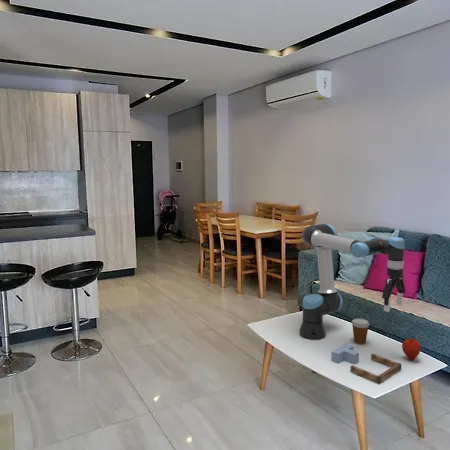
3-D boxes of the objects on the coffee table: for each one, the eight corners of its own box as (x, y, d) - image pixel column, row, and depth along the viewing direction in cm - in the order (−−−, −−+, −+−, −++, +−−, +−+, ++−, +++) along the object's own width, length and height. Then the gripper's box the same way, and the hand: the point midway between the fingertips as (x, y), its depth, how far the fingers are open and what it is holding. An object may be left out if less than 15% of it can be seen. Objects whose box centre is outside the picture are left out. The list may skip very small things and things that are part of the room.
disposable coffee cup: (347, 339, 229) (348, 319, 227) (360, 336, 232) (361, 317, 231) (359, 346, 220) (359, 325, 218) (372, 343, 224) (373, 322, 222)
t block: (331, 360, 204) (331, 351, 204) (347, 352, 213) (347, 343, 213) (348, 367, 197) (348, 357, 196) (364, 358, 206) (364, 349, 205)
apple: (397, 357, 206) (398, 337, 205) (409, 354, 210) (410, 334, 208) (411, 364, 198) (412, 344, 197) (423, 361, 202) (424, 340, 200)
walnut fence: (350, 371, 193) (350, 366, 192) (372, 359, 205) (372, 353, 205) (379, 384, 181) (379, 378, 181) (401, 369, 194) (401, 363, 193)
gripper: (390, 273, 192) (388, 316, 195) (413, 265, 208) (411, 304, 211) (375, 270, 197) (373, 311, 200) (399, 262, 214) (397, 300, 217)
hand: (393, 308), depth 206 cm, fingers open, 13 cm apart
